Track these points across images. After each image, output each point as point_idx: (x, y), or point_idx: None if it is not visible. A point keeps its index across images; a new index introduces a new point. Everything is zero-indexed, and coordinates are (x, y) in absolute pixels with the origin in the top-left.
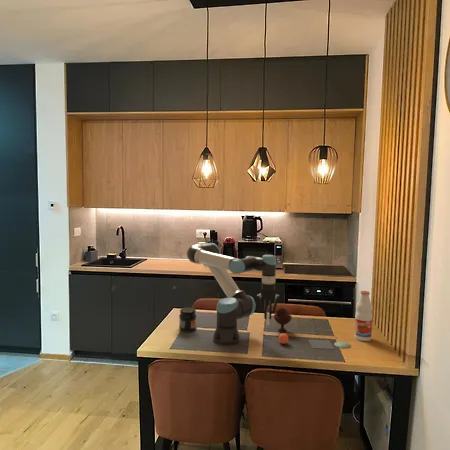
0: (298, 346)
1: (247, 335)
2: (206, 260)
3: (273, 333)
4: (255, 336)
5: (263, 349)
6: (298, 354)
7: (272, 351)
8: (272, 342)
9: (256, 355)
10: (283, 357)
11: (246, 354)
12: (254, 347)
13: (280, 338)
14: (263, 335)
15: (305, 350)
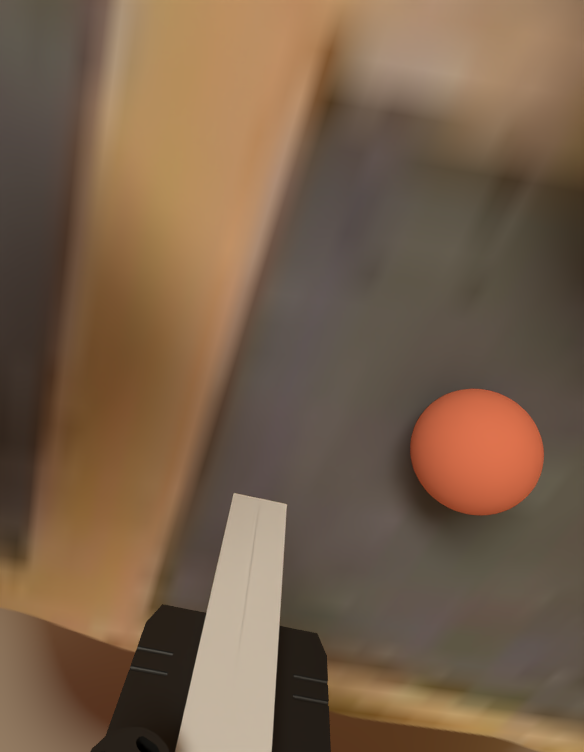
0: (570, 509)
1: (67, 67)
2: None
3: (504, 43)
4: (183, 134)
5: (189, 515)
6: (463, 639)
7: None
8: (344, 373)
9: (100, 604)
10: None
11: (14, 577)
12: (108, 462)
13: (421, 481)
14: (313, 111)
15: (575, 590)
